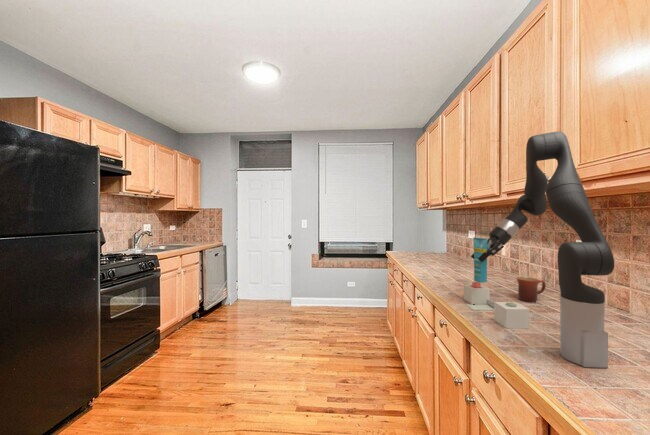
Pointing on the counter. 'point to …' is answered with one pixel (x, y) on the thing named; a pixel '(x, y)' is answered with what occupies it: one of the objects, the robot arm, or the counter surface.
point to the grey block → (476, 295)
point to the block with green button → (511, 315)
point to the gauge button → (476, 284)
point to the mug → (529, 288)
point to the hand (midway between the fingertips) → (476, 259)
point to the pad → (480, 307)
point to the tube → (479, 266)
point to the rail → (490, 302)
